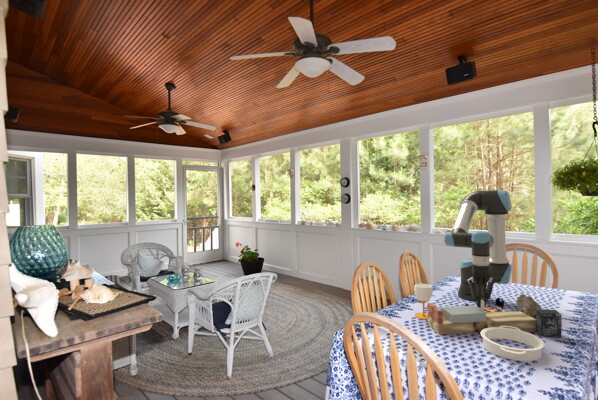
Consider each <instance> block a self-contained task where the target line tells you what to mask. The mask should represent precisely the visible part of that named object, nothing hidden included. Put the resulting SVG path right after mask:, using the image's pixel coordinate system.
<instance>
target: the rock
mask: <svg viewBox="0 0 598 400" xmlns="http://www.w3.org/2000/svg"><path fill="white" fill-rule="evenodd" d="M516 306H517V311H521V312H523V313H525V314H526V315H528V316H530V317H532V318H533V317H536V309H542V305H540V304H539V303H538V302H537V301H535V300H534V298H533V297H532V296H527V295H525V294H524V293H523V294H520V295H518V296H517V299H516Z"/></svg>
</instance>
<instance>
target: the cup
mask: <svg viewBox="0 0 598 400" xmlns="http://www.w3.org/2000/svg"><path fill="white" fill-rule="evenodd" d="M433 291H434V290H433V286H432V285H431V284H429V283H416V284H414V294H415V297H416V299H417V301H419V303H421V304H422V312H417V313H414V317H415V318H417V319H418V320H419V319H420V320H427V321H428V312H427V313H426V312H425V311H426V310H425V303H429V302H430V300H431V299H432V296H433V293H434V292H433Z"/></svg>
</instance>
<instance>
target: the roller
mask: <svg viewBox="0 0 598 400" xmlns="http://www.w3.org/2000/svg"><path fill="white" fill-rule="evenodd" d="M472 323H473V326H475V327H476V331H477V332H481V331H482V330H483V329H485V328H488V325H487V323H485V322H472Z"/></svg>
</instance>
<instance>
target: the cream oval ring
mask: <svg viewBox="0 0 598 400" xmlns="http://www.w3.org/2000/svg"><path fill="white" fill-rule="evenodd" d="M505 327H511V328H505ZM512 328H515V329H512ZM517 329H518V330H517ZM480 336H481V338H482V345H483V348H484V349H485V350H487V351H488V352H490V353H492V354H494V355H495V356H498V357H501V358H504V359H508V360H513V361H517V362H520V361H521V362H533V361H538V360H539V359H541V358H542V356H543V355H542V353H543V352H542V349H544V348H545V347H546V345H545V341H544V340H543V339H542V338H540V337H539V336H537V335H534V334H532V333H530V332H529V331H521V330H520V329H519V328H516V327H512V326H505V325H504V326H499V327H490V328H485V329H483V330H482V331H481V332H480ZM498 339H500V340H510V341H515V342H518V343H522V344H525V345H527V346H530V347H532V348H518V347H517V348H516V347H512V346H507V345H503V344H500V343H497V342H494V341H492V340H498Z"/></svg>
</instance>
